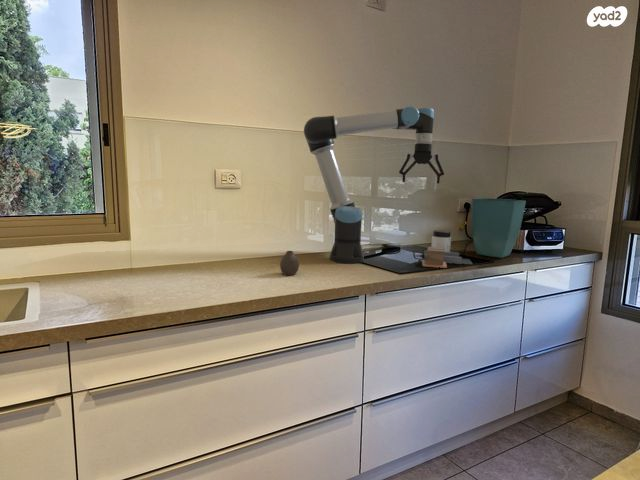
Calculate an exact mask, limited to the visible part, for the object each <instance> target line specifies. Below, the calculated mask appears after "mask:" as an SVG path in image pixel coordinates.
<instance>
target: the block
mask: <svg viewBox="0 0 640 480" xmlns="http://www.w3.org/2000/svg"><path fill="white" fill-rule="evenodd" d="M426 251H427V258H426V264H432V265H443V259H444V248H434V247H431V246H428V247H427V250H426Z"/></svg>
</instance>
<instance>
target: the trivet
mask: <svg viewBox="0 0 640 480" xmlns="http://www.w3.org/2000/svg"><path fill="white" fill-rule="evenodd" d="M421 265H422V267H426V268H427V267H429V268H439V267H440V268H442V269H447V268H448V265H447V263H446V262H443V265H432V264H426V260H424V259H422V260H421Z"/></svg>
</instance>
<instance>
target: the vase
mask: <svg viewBox="0 0 640 480" xmlns="http://www.w3.org/2000/svg"><path fill="white" fill-rule="evenodd" d="M279 266H280V267H279V268H280V271H281V272H282V274H283V275H285V276H287V277H288V276H295V275H296V274H297V273H298V271H299V268H300V267H299V266H300V262H299V258H298V257H297V255H296V254H295V252H294V251H293V250H286V252H285V254H284V255H283V256H282V257H281V260H280V265H279Z"/></svg>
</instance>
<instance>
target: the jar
mask: <svg viewBox="0 0 640 480" xmlns="http://www.w3.org/2000/svg"><path fill="white" fill-rule="evenodd" d="M432 232H433V235H432V236H431V246H430V247H434V248H444V252H451V245H452V244H451V243H452V237H451V235H452V233H451V231H449V230H442V229H437V230H433V231H432Z"/></svg>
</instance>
